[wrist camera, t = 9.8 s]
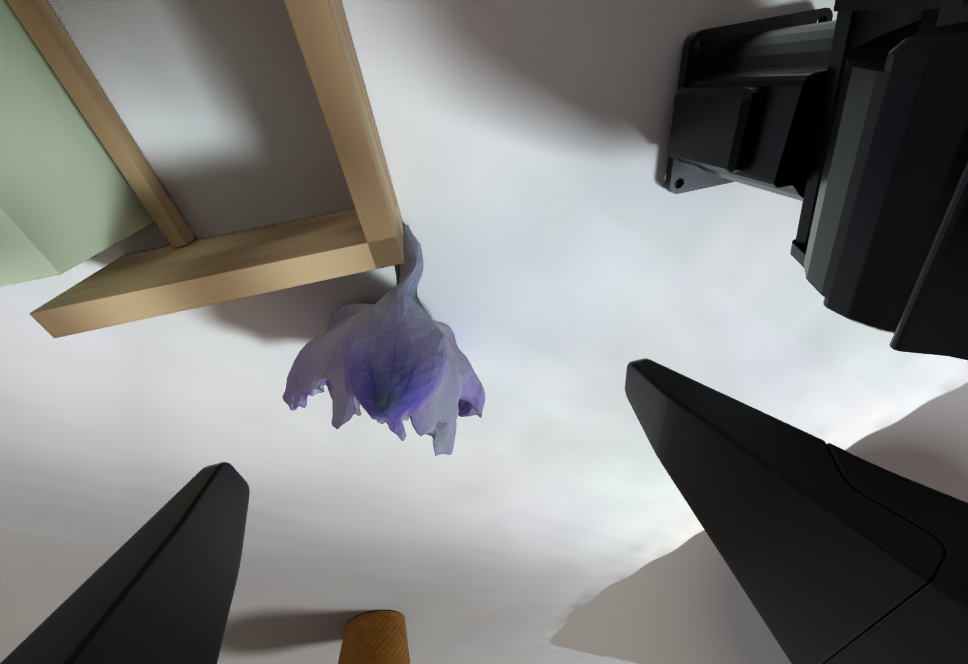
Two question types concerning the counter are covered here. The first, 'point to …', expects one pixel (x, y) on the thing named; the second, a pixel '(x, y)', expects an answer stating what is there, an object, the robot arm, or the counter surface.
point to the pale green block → (52, 170)
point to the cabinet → (242, 255)
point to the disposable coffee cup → (375, 639)
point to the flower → (391, 363)
